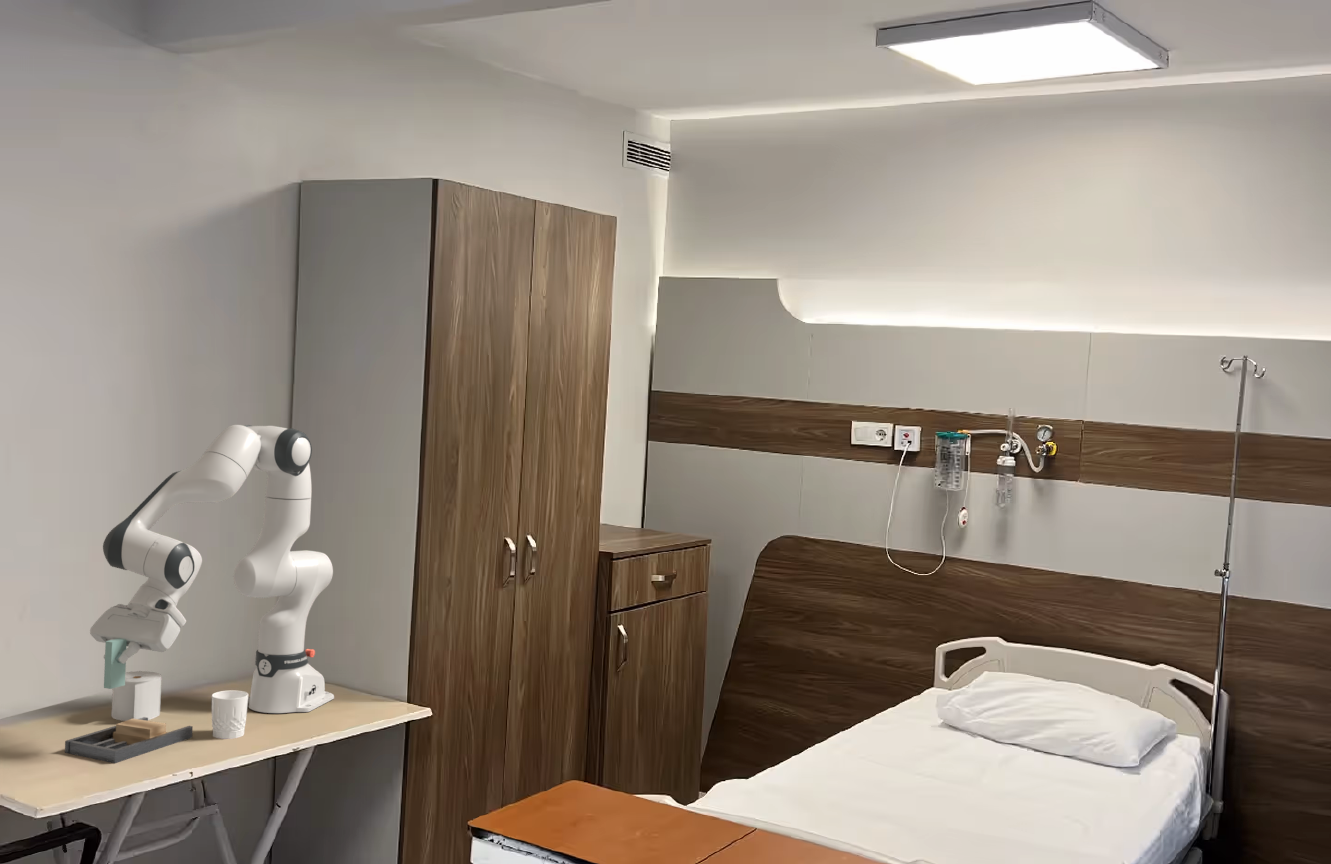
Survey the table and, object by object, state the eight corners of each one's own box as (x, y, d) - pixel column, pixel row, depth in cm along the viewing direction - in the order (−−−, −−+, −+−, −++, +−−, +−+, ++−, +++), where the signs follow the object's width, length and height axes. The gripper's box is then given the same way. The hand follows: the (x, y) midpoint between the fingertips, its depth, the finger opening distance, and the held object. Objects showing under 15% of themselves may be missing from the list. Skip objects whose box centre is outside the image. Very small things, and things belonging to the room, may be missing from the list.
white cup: (209, 734, 280) (211, 691, 280) (245, 732, 283) (247, 689, 283) (210, 744, 273) (212, 699, 273) (247, 741, 276) (249, 698, 276)
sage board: (118, 684, 264) (120, 638, 263) (124, 685, 263) (126, 639, 263) (103, 687, 260) (105, 641, 260) (110, 689, 259) (112, 642, 259)
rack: (144, 731, 280) (144, 717, 279) (191, 740, 274) (192, 726, 274) (64, 756, 259) (65, 740, 259) (114, 767, 254) (115, 751, 254)
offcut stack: (133, 734, 274) (134, 716, 274) (168, 741, 270) (169, 723, 270) (111, 741, 268) (112, 723, 268) (146, 748, 265) (147, 730, 264)
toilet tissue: (143, 709, 297) (145, 668, 297) (172, 719, 290) (174, 677, 290) (101, 717, 288) (103, 675, 288) (131, 728, 282) (132, 685, 281)
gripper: (106, 594, 271) (68, 646, 263) (178, 605, 264) (142, 658, 255) (121, 611, 276) (84, 662, 267) (192, 622, 268) (157, 675, 259)
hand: (113, 660), depth 261 cm, fingers closed on sage board, 2 cm apart
